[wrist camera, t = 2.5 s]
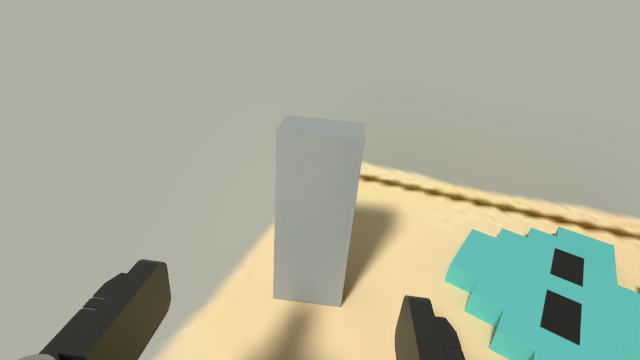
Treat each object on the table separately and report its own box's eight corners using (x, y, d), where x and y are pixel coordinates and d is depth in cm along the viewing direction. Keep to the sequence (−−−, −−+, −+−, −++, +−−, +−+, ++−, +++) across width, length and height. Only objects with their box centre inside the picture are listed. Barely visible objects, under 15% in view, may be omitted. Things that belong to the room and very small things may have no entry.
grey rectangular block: (342, 278, 28) (363, 123, 22) (340, 306, 25) (364, 138, 19) (281, 270, 28) (286, 115, 22) (273, 298, 25) (276, 129, 19)
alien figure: (733, 312, 28) (482, 219, 38) (751, 292, 27) (488, 202, 37) (882, 617, 14) (412, 338, 24) (931, 598, 13) (418, 315, 23)
